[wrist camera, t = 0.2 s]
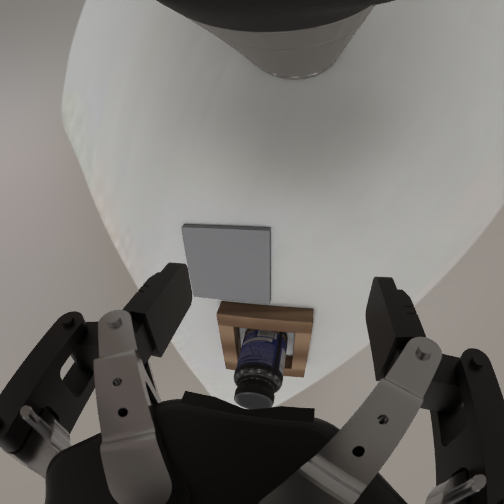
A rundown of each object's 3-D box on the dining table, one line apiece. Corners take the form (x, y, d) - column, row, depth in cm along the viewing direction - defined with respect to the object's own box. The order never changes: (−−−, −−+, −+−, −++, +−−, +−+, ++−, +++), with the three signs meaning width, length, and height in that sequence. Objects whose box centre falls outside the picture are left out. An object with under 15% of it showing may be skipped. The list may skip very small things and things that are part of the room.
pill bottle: (237, 334, 39) (217, 397, 30) (263, 314, 36) (248, 383, 27) (269, 355, 40) (257, 417, 31) (297, 337, 37) (289, 404, 28)
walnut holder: (221, 301, 36) (216, 313, 34) (313, 309, 34) (313, 322, 32) (229, 356, 42) (226, 368, 40) (304, 364, 40) (303, 377, 38)
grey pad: (183, 224, 31) (181, 227, 31) (270, 227, 30) (269, 230, 29) (196, 292, 36) (194, 296, 36) (270, 299, 35) (269, 304, 34)
